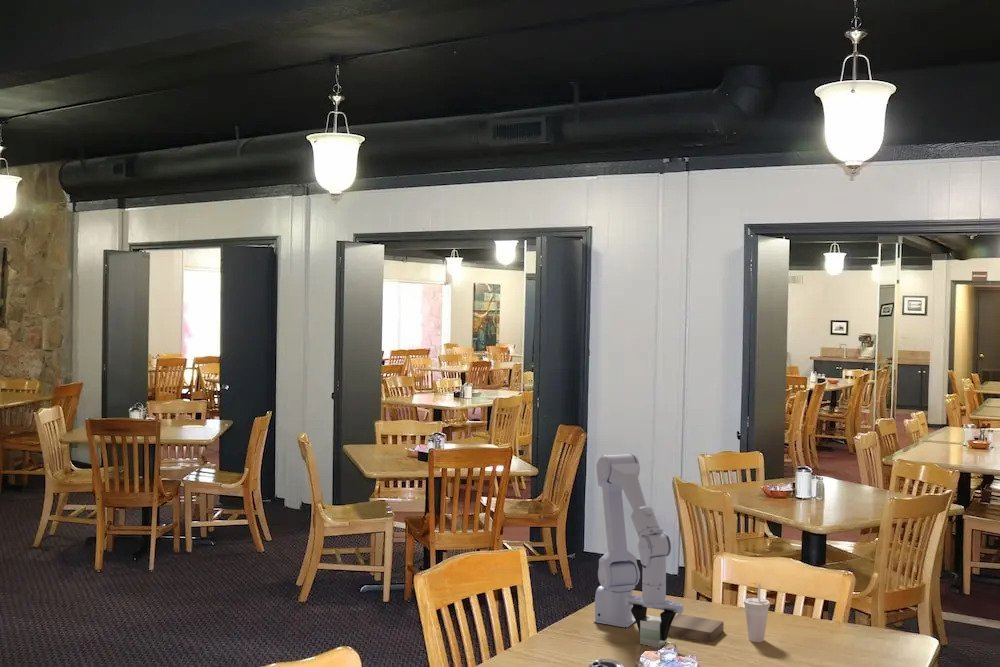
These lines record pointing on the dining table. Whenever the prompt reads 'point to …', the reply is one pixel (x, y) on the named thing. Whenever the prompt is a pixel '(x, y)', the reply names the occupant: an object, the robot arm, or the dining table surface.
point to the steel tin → (651, 631)
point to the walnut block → (695, 628)
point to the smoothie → (756, 617)
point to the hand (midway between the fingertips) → (653, 637)
